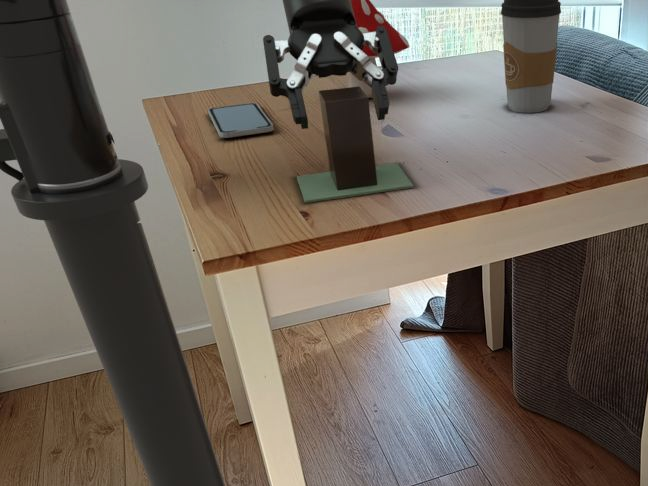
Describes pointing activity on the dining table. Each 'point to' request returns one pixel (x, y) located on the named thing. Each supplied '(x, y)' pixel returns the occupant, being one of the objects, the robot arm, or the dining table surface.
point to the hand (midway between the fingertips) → (344, 120)
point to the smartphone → (239, 120)
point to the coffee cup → (530, 52)
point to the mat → (325, 189)
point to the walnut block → (348, 137)
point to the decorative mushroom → (368, 22)
